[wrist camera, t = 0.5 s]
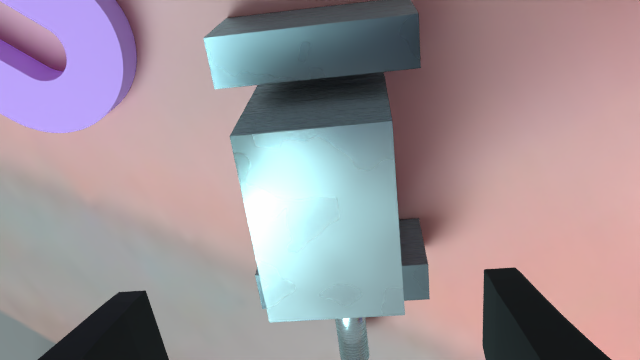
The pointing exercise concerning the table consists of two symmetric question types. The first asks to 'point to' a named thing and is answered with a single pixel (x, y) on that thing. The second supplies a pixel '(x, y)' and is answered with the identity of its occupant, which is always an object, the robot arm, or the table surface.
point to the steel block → (322, 197)
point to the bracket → (69, 66)
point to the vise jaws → (322, 62)
